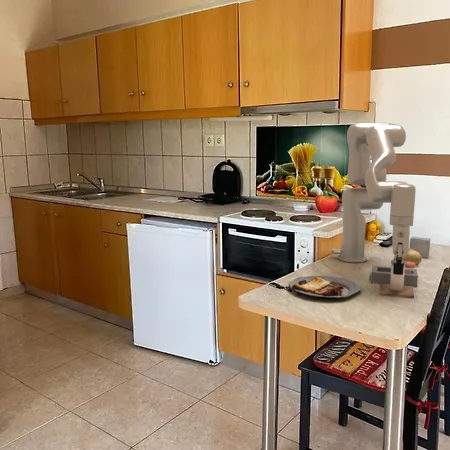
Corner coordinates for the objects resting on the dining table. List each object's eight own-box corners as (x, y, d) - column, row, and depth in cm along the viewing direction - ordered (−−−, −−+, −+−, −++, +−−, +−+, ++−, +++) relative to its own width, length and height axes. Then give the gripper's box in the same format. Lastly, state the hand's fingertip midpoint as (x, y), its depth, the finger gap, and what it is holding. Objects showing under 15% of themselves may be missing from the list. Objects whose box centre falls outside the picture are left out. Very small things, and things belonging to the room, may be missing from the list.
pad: (379, 294, 160) (379, 292, 160) (380, 285, 171) (380, 283, 170) (414, 298, 157) (414, 296, 157) (412, 288, 167) (413, 286, 167)
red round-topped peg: (401, 281, 173) (402, 263, 172) (401, 277, 177) (402, 260, 176) (414, 282, 172) (415, 264, 170) (413, 279, 176) (415, 261, 174)
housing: (370, 282, 174) (371, 272, 173) (371, 275, 183) (372, 265, 183) (417, 286, 169) (417, 276, 168) (415, 279, 178) (416, 269, 177)
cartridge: (389, 290, 162) (390, 262, 161) (389, 286, 167) (391, 259, 165) (404, 291, 161) (405, 263, 159) (403, 287, 165) (405, 260, 164)
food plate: (335, 307, 148) (336, 296, 148) (275, 292, 164) (276, 282, 163) (371, 290, 166) (371, 281, 166) (314, 278, 182) (314, 269, 181)
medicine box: (429, 256, 212) (430, 238, 211) (427, 258, 209) (429, 239, 207) (410, 254, 216) (412, 236, 215) (408, 256, 213) (410, 237, 211)
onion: (417, 262, 202) (419, 246, 201) (423, 267, 195) (424, 251, 193) (398, 262, 203) (399, 246, 202) (403, 267, 195) (404, 250, 194)
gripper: (414, 225, 150) (410, 280, 153) (412, 217, 166) (408, 266, 169) (389, 224, 152) (386, 277, 156) (389, 215, 168) (386, 264, 172)
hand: (397, 271), depth 162 cm, fingers open, 5 cm apart
